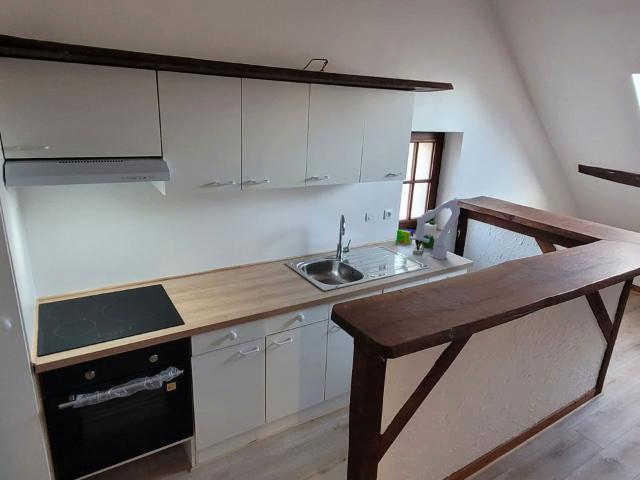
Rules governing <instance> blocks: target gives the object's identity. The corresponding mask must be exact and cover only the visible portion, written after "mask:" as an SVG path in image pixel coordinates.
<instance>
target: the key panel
mask: <svg viewBox="0 0 640 480" xmlns="http://www.w3.org/2000/svg"><path fill="white" fill-rule="evenodd" d="M415 249H416V245H415V246H414V248H413V252H412V254H413V255H419V256H422V254H423V252H424V249H425V247H424V246H422V249H421V252H419V251H415Z"/></svg>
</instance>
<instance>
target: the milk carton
mask: <svg viewBox="0 0 640 480" xmlns="http://www.w3.org/2000/svg"><path fill="white" fill-rule="evenodd" d="M437 227H438V224H436V222H435V221H434V220H429V221H428V222H425V230H424V237H423V238H426V239H430V240H429V242H424V241H423V242H422V244H421V245H422V246H424V248H426V249H431V248H434V247H433V246H434V240H435V239H436V233H437Z"/></svg>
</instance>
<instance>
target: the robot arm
mask: <svg viewBox="0 0 640 480" xmlns="http://www.w3.org/2000/svg"><path fill="white" fill-rule="evenodd" d="M460 204H461V203H460V201H459V200H458V198H457V197H452V198H450V199H449V200H446V201H444V202H443V203H441V204H440V205H438V206H437V207H436V208H434V209H430V210H428V209H427V211H426V212H425V213H422V214H421V215H420V216H419V217H417V220H416V223H417V224H416V230H415V236H413V237H409V240H412V241H414V243H415V246H416V247H417V250H419V248H420V246H421V245H422V242H423V241H424V242H429V240H430V239H426V238H423V237H424V230H425V224H426V223H427V222H430V221H431V220H432V219H433V218H435V216H436V214H438V213H439V212H441V211H442V210H444V209H449V210H450V212H451V215H450V216H449V218H448V219H447V222H446V223H445V225H444V226H443V228H442V229H441V232H440V233H439V234H438V235H437V236H435V240H434V247H432V248H433V249H432V255H430V257H431V258H434V259H435V258H436V259H439V260H444V259H446V258H447V257H448V256H447V255H448V247H447V246H445V241H446V237H447V235H448V233H450V230H451V229H452V227H453V225H454V224H455V222H456V221H457V219H458V217H459V215H460V213H461V209H460V206H461V205H460ZM418 244H419V246H418Z"/></svg>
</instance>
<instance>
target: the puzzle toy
mask: <svg viewBox="0 0 640 480" xmlns="http://www.w3.org/2000/svg"><path fill="white" fill-rule="evenodd" d="M414 231H415V230H414V229H410V228H404V227H401V228H399V229H398V230H397V231H396V240H395V241H396V243H397V242H399V243H398V244H402V243H403V244H404V245H410V244H411V243H413V240H409V237H414Z"/></svg>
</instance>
